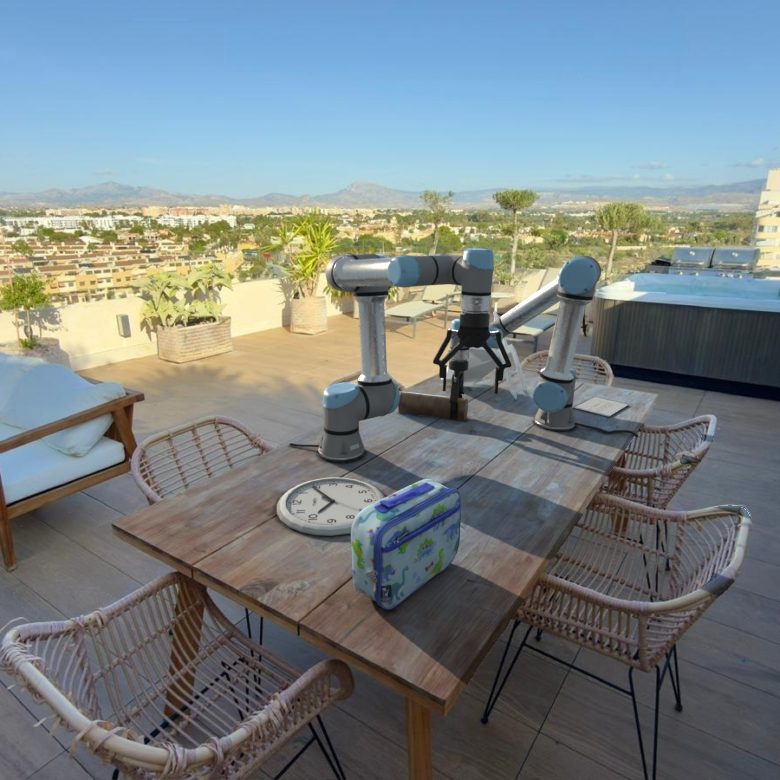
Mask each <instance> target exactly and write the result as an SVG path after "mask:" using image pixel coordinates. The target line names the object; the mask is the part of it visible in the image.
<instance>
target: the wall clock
mask: <svg viewBox="0 0 780 780" xmlns="http://www.w3.org/2000/svg"><path fill="white" fill-rule="evenodd" d="M385 497H386V496H385V494H384V493H383V492H382V491H381V490H380V489H379V488H377V487H376V486H374V485H372V484H371V483H369V482H365V481H362V480H359V479H355V478H349V477H338V476H337V477H335V476H333V477H332V476H331V477H322V478H317V479H312V480H307V481H305V482H302V483H299V484H297V485H295V486H293V487H292V488H290V489H288V490H287V491H286V492H285V493H284V494H283V495H281V496H280V498H279V499H278V502H277V503H276V515H277V517H278V518H279V520H280V521H281V522H282V523H283V524H285V525H286V526H287V527H288V528H290V529H293V530H295V531H297V532H299V533H303V534H308V535H312V536H327V537H328V536H329V537H331V536H332V537H333V536H342V535H350V534H351V529H352V524H353V521H354V519H355V517H356V516H357V514H358V513H359V512H360V511H361V510H362V509H364V508H366V507H367V506H369V505H371V504H374V503H375V502H377V501H379V500H381V499H383V498H385Z"/></svg>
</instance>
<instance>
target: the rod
mask: <svg viewBox="0 0 780 780" xmlns="http://www.w3.org/2000/svg"><path fill="white" fill-rule="evenodd" d="M453 400H455V399H453ZM449 401H450V396H448V395H439V394H438V395H437V394H430V393H429V394H428V393H419V392H411V391H403V390H402V391H401V392H400V400H399V404H398V407H397V410H398V413H399V414H405V415H413V416H419V417H420V416H421V417H429V418H434V419H435V418H436V419H444V420H452V421H460V422H466V420H467V418H468V412H469V399H468V398H464V397H462V398H458V412H457V419H455V418H450V408H451V402H449Z"/></svg>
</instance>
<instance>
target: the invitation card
mask: <svg viewBox="0 0 780 780" xmlns="http://www.w3.org/2000/svg"><path fill="white" fill-rule="evenodd" d="M628 406H629V404H627V403H623V402H618V401H614V400H609V399H605V398H601V397H596V396H593V397H592V398H590V399H588V400H586V401H584V402H582V403H580V404H578V405H575V406H574V407H573V409H575V410H581V411H584V412H587V413H593V414H596V415H600V416H604V417H608V418H609V417H611V416H613V415H614V414H616V413H617V412H619V411H621V410H623V409H624V408H626V407H628Z"/></svg>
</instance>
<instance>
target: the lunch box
mask: <svg viewBox="0 0 780 780" xmlns="http://www.w3.org/2000/svg"><path fill="white" fill-rule="evenodd" d="M461 499H462V498H461V493H460V491H459V490H458V489H457V488H454V487H451V488H449V487H447V486H446V485H444V484H441V483H440V482H437V481H436V480H434V479H431V478H424V479H421V480H418V481H416V482H414V483H412V484H410V485H408V486H405V487H404V488H401V489H399V490H397V491H395V492H393V493H392V494H389V495H387V496H385V498H383V499H381V500H379V501H377V502H375V503H374V504H371V505H369V506H367V507H366V508H364V509H362V510H361V511H360V512H359V513H358V514H357V516H356V517H355V519H354V521H353V524H352V529H351V533H350V547H351V548H350V552H351V576H352V584H353V588H354V590H356V591H357V592H359V593H360V594H363V595H365V596H367V597H368V598H369V599H371V600H372V601H374V602H376V604H377V606H378V607H379V608H382V609H384V610H386V611H387V610H388V611H390V610H393V609H394V608H396V607H397V606H398V605H400V604H401V603H402V602H403V601H405V600H406V599H407V598H408V597H409V596H411V595H412V594H413V593H415V592H417V590H419V589H420V588H422V587H423V586H424V585H425V584H426V583H428V581H430V580H431V579H432V578H434V577H435V576H438V574H440V573H441V572H443V571H445V570H446V569H447V568H448V567H449V566H451V564H452V563H453V562H454V560H455V558H456V556H457V554H458V551H459V548H460V541H461V522H462V521H461V519H462V515H461V513H462V512H461V510H462V509H461V508H462V506H461V505H462V504H461V503H462V502H461Z"/></svg>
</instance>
